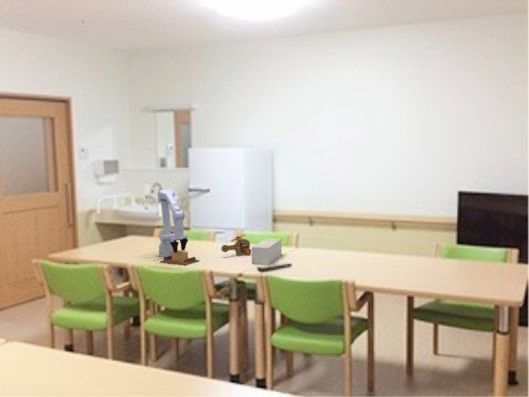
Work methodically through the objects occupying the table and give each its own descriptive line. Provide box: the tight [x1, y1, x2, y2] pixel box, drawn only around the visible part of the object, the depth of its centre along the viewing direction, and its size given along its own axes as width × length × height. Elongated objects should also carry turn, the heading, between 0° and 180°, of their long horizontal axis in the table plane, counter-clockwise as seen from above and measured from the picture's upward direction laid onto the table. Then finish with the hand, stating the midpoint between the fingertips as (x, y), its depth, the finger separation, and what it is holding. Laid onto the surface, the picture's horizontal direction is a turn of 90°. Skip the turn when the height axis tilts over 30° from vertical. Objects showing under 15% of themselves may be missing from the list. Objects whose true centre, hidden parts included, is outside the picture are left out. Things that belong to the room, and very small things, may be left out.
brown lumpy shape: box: [220, 234, 252, 257], centre depth 370 cm, size 8×21×14 cm, turn 122°
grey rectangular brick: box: [251, 238, 283, 266], centre depth 359 cm, size 32×11×11 cm, turn 164°
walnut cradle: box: [159, 255, 200, 267], centre depth 354 cm, size 20×14×3 cm
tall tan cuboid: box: [172, 249, 189, 262], centre depth 354 cm, size 10×4×6 cm, turn 61°
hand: (179, 251), depth 353 cm, fingers open, 7 cm apart
